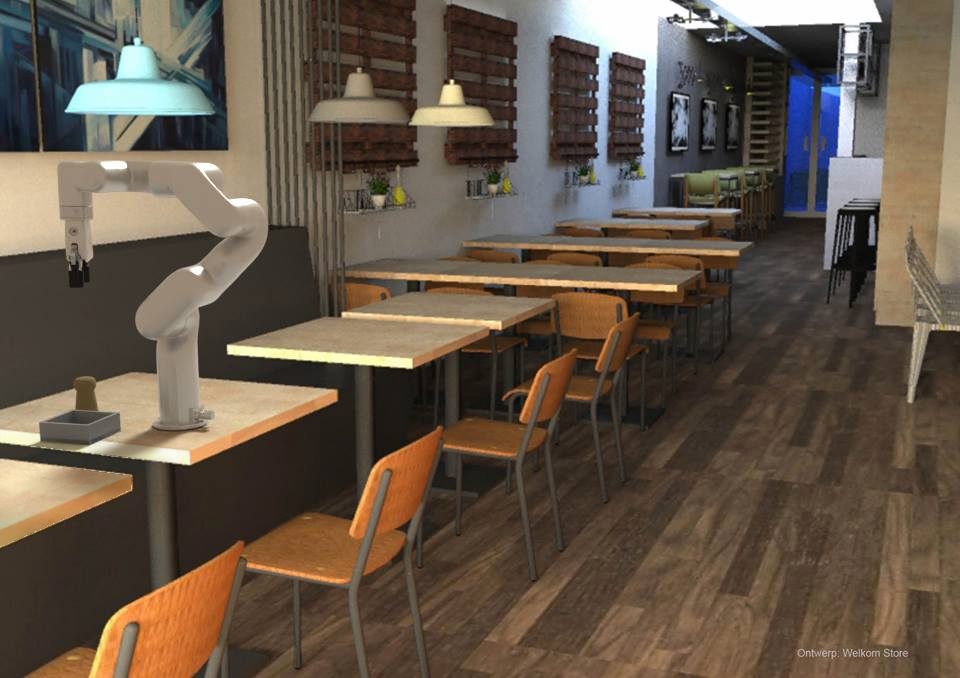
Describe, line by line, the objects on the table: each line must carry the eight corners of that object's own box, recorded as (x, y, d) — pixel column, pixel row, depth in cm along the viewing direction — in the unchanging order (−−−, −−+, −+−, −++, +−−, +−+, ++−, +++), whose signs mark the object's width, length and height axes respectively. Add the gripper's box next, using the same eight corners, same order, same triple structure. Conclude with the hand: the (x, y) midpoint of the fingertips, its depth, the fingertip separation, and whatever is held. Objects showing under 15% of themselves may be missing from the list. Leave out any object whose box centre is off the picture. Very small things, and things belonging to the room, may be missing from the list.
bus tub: (120, 430, 254) (119, 412, 253) (89, 445, 242) (88, 425, 241) (73, 427, 257) (72, 409, 256) (40, 441, 245) (39, 422, 244)
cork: (73, 424, 260) (70, 380, 258) (75, 419, 266) (72, 375, 264) (99, 423, 261) (96, 378, 259) (101, 417, 267) (98, 373, 265)
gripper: (87, 215, 249) (91, 289, 252) (98, 211, 265) (101, 280, 268) (53, 215, 247) (57, 289, 250) (65, 211, 264) (69, 280, 267)
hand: (80, 284), depth 259 cm, fingers open, 9 cm apart
